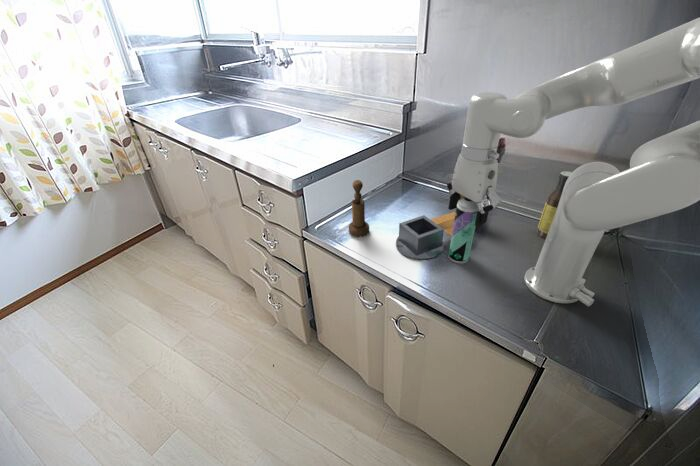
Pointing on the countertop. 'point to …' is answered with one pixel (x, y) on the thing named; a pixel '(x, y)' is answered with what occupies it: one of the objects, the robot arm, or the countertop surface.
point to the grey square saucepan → (424, 236)
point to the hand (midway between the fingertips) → (466, 216)
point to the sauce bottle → (552, 205)
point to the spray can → (463, 230)
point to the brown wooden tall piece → (358, 213)
